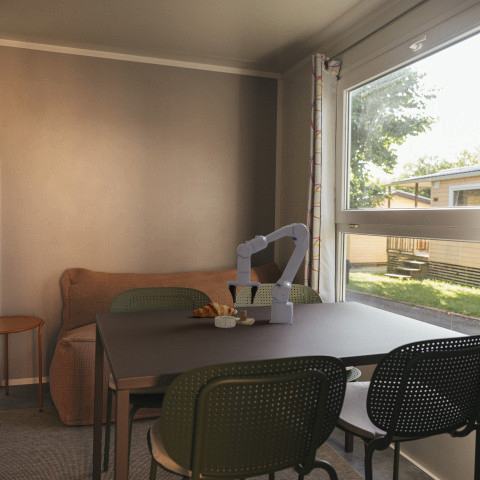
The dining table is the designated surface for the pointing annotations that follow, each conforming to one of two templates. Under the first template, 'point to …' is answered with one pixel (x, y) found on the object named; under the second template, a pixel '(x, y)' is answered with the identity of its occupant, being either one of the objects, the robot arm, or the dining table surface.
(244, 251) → the robot arm
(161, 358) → the dining table surface
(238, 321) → the lid
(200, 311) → the croissant
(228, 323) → the bowl
